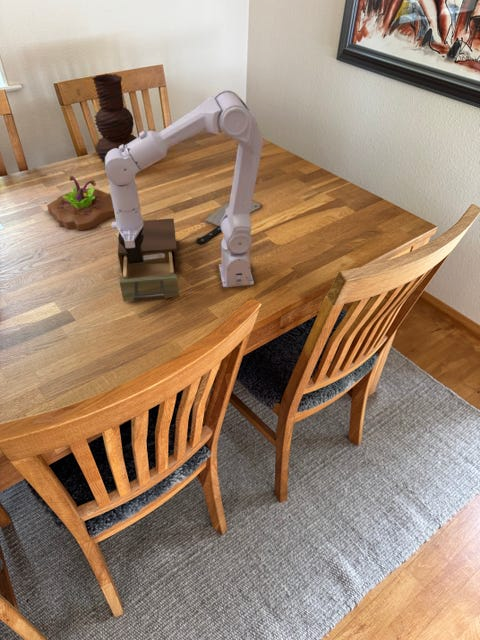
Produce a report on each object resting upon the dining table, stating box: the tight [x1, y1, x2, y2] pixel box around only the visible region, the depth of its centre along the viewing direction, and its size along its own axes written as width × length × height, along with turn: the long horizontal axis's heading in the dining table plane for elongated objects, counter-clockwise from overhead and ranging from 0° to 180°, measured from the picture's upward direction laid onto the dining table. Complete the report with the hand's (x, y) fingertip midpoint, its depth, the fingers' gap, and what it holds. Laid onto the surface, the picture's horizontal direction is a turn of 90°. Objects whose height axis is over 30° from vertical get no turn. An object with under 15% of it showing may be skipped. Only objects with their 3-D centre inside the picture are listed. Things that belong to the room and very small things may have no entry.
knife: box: [126, 249, 165, 264], centre depth 111 cm, size 9×2×3 cm, turn 99°
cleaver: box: [195, 200, 261, 245], centre depth 141 cm, size 29×1×10 cm
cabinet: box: [117, 217, 180, 277], centre depth 124 cm, size 15×15×8 cm
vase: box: [91, 73, 138, 165], centre depth 155 cm, size 15×15×30 cm
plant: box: [46, 175, 115, 231], centre depth 140 cm, size 20×20×11 cm
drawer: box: [119, 251, 180, 302], centre depth 113 cm, size 19×13×6 cm
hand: (135, 256), depth 111 cm, fingers closed on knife, 2 cm apart
